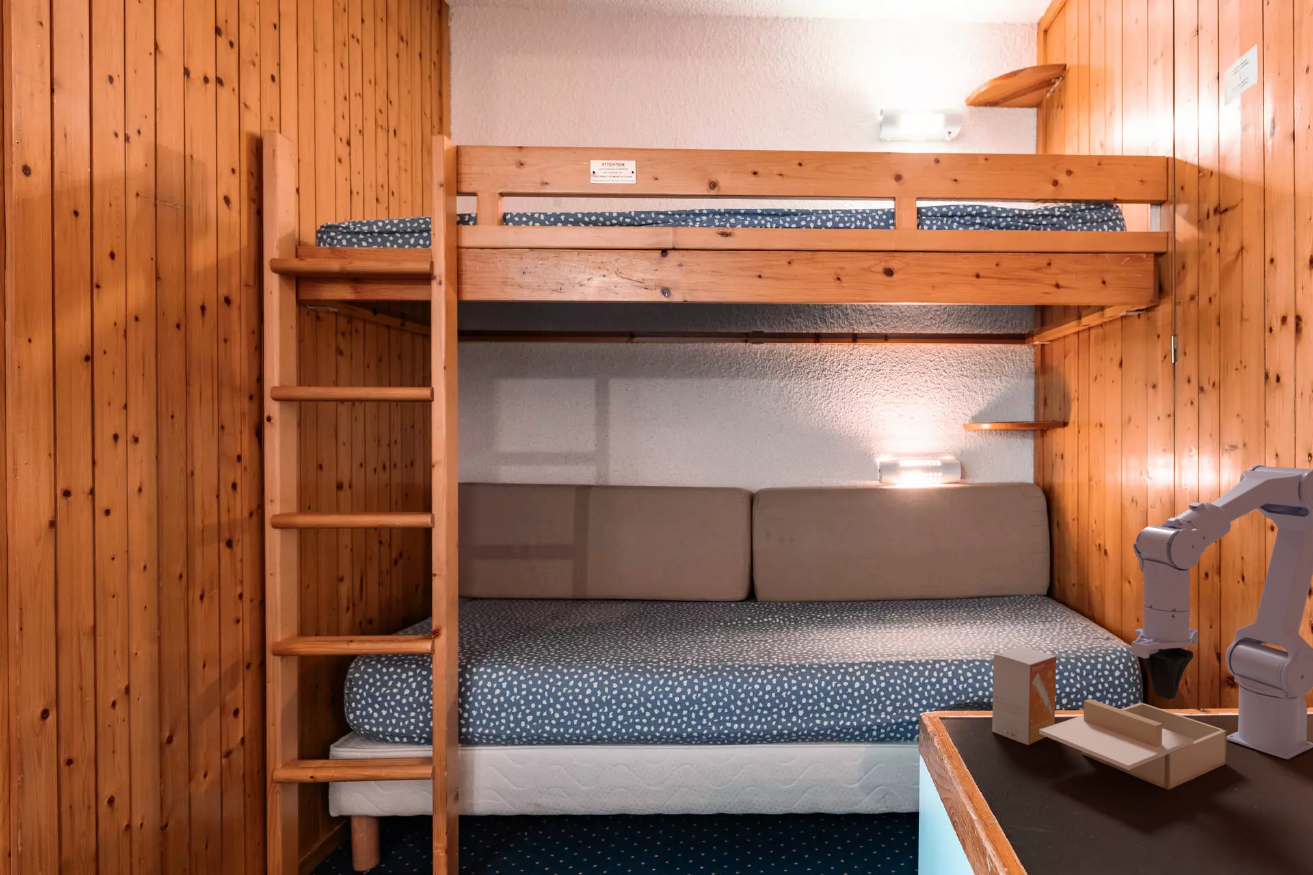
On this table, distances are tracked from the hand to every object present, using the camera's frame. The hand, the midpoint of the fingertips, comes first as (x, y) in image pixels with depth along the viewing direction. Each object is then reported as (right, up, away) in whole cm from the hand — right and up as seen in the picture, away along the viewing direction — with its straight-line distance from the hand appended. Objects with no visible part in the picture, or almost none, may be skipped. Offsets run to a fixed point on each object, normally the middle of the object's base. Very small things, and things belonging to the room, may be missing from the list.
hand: (1165, 696), depth 108 cm
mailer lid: (-10, -5, -4) cm, 12 cm away
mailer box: (-1, -10, +1) cm, 10 cm away
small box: (-16, -10, +10) cm, 21 cm away
